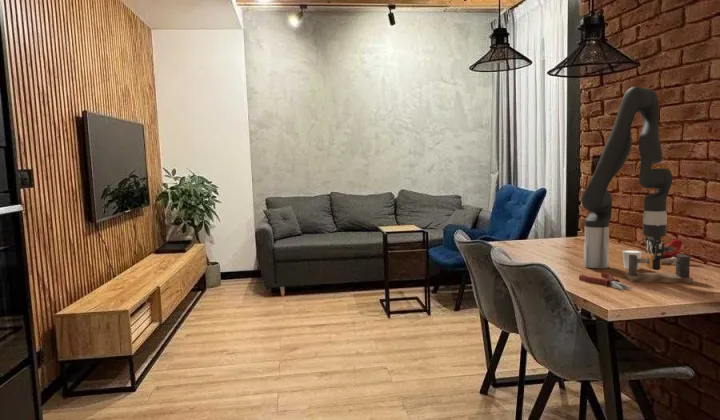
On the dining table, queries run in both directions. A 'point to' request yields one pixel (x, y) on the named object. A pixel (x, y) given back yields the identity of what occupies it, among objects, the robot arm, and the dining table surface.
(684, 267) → the stand
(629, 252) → the white cup
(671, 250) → the decorative bird figurine
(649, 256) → the marker sleeve
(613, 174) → the robot arm
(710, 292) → the dining table surface
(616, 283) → the pliers
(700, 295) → the dining table surface
